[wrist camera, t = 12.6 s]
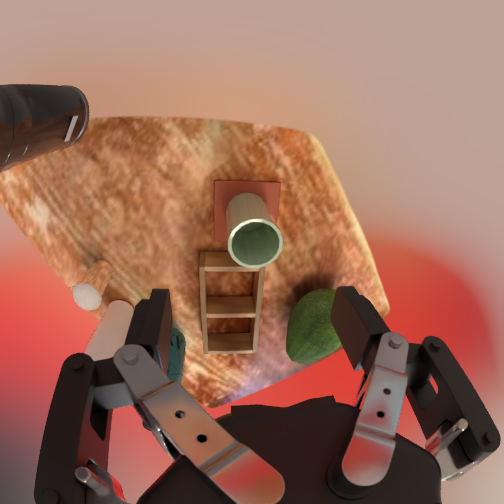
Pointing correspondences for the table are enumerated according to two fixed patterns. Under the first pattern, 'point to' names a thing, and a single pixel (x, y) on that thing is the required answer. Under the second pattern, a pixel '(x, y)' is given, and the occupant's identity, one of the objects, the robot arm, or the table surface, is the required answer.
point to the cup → (252, 231)
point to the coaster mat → (233, 188)
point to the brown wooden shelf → (229, 307)
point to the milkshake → (92, 285)
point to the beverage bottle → (175, 359)
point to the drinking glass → (110, 331)
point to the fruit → (312, 327)
